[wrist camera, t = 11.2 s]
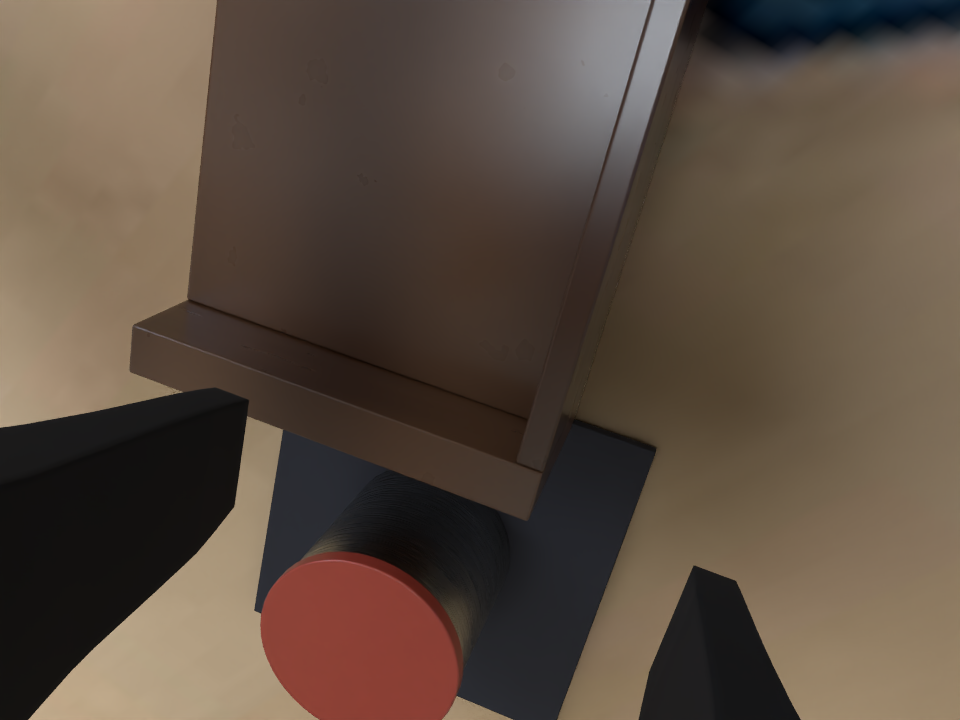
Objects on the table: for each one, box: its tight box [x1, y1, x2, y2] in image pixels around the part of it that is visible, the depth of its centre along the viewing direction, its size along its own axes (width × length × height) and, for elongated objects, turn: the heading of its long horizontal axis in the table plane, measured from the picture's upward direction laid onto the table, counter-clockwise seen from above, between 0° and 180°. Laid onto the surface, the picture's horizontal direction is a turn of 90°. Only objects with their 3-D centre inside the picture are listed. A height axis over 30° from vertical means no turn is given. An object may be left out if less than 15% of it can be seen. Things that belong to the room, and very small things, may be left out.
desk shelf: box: [129, 0, 708, 521], centre depth 17 cm, size 10×18×5 cm, turn 166°
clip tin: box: [260, 470, 510, 720], centre depth 22 cm, size 5×5×5 cm
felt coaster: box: [254, 419, 656, 720], centre depth 24 cm, size 10×10×1 cm
